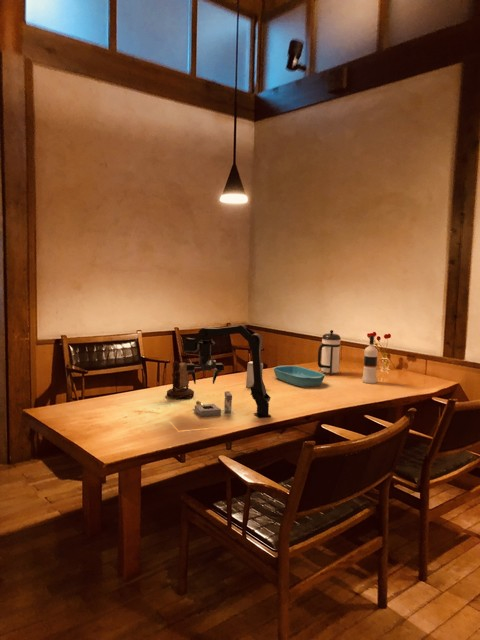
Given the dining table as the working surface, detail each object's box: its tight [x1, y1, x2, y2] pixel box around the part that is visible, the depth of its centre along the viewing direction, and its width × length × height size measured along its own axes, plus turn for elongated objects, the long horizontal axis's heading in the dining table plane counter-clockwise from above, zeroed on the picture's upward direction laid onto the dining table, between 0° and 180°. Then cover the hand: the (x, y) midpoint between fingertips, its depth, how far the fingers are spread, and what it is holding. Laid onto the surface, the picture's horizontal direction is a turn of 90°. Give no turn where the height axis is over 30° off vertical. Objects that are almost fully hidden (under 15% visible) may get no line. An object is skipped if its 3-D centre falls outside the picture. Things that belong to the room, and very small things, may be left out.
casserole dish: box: [273, 365, 326, 388], centre depth 328 cm, size 37×22×7 cm, turn 33°
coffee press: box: [317, 329, 342, 376], centre depth 353 cm, size 17×16×30 cm
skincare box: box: [245, 361, 264, 388], centre depth 309 cm, size 8×6×15 cm
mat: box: [221, 409, 236, 416], centre depth 254 cm, size 8×6×1 cm
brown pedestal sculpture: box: [166, 359, 195, 400], centre depth 282 cm, size 15×15×20 cm
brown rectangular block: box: [223, 391, 233, 413], centre depth 253 cm, size 4×8×9 cm, turn 10°
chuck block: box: [192, 400, 222, 418], centre depth 255 cm, size 20×10×4 cm, turn 22°
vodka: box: [361, 335, 379, 385], centre depth 331 cm, size 9×9×30 cm
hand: (204, 383), depth 258 cm, fingers open, 9 cm apart
